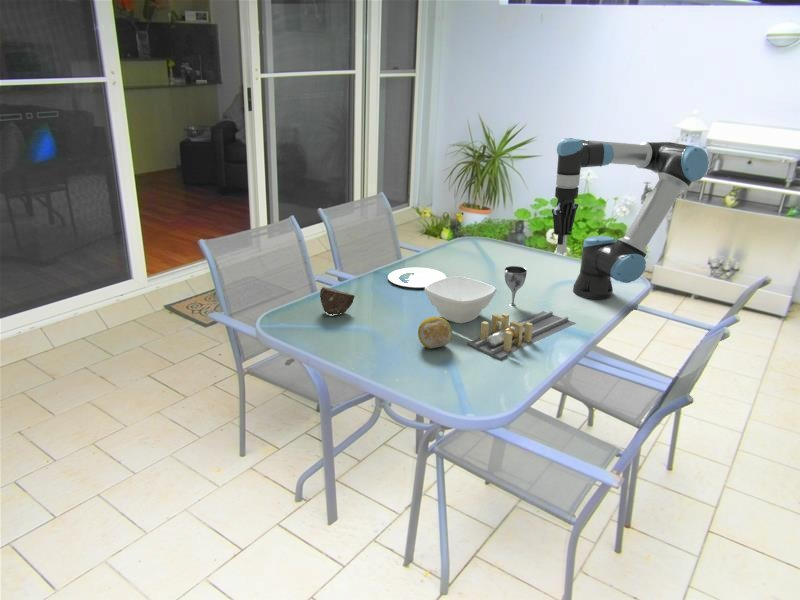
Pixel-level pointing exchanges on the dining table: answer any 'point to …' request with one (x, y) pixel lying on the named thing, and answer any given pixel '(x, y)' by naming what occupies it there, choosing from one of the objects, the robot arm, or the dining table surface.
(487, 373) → the dining table surface
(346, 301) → the brown coconut half
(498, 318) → the aperture bridge
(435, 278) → the plate
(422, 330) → the fruit
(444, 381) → the dining table surface
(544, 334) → the guide plate
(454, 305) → the bowl
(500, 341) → the tube
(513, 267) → the wine glass
